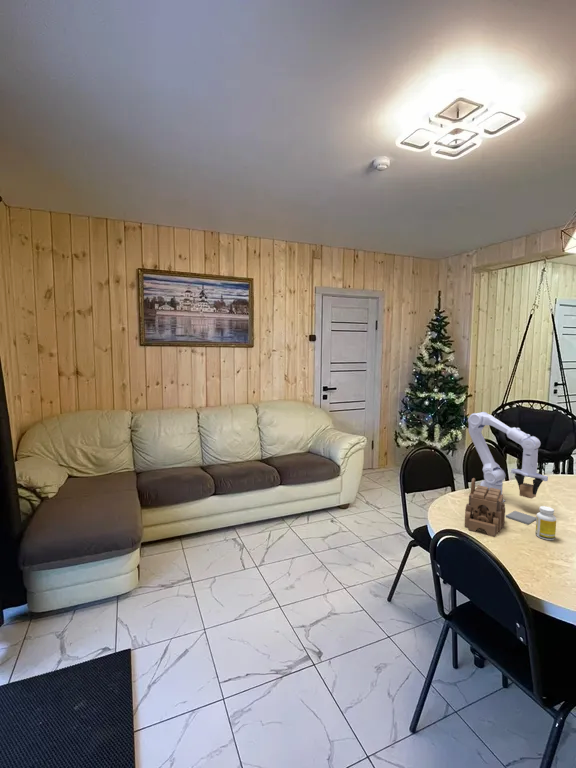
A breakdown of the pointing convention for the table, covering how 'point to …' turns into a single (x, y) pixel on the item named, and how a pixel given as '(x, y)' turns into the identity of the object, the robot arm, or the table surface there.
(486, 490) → the wooden puzzle
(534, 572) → the table surface
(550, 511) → the pill bottle
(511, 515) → the slate coaster
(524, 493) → the walnut cube
